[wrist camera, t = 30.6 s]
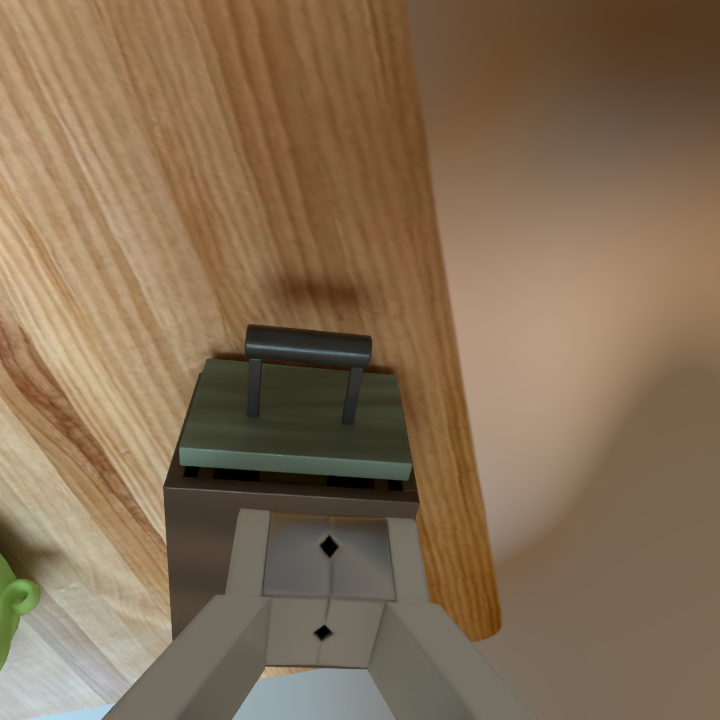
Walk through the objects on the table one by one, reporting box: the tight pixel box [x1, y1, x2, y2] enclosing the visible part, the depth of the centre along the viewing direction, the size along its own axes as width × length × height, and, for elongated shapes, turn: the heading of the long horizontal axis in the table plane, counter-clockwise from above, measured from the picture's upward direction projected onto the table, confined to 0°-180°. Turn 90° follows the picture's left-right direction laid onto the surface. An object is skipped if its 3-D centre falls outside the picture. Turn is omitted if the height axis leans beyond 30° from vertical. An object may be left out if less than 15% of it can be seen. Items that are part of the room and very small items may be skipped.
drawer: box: [179, 324, 412, 490], centre depth 34 cm, size 20×11×8 cm, turn 172°
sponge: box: [259, 471, 328, 486], centre depth 36 cm, size 6×4×3 cm, turn 172°
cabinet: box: [163, 373, 420, 669], centre depth 36 cm, size 16×13×10 cm
